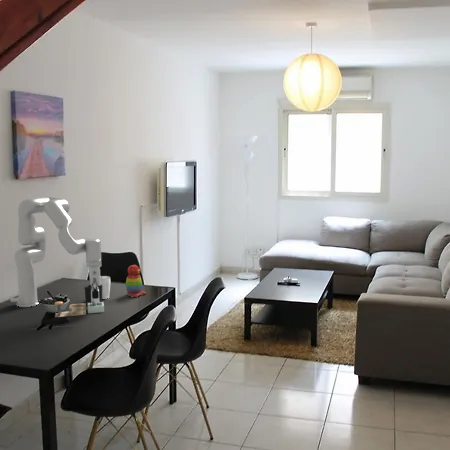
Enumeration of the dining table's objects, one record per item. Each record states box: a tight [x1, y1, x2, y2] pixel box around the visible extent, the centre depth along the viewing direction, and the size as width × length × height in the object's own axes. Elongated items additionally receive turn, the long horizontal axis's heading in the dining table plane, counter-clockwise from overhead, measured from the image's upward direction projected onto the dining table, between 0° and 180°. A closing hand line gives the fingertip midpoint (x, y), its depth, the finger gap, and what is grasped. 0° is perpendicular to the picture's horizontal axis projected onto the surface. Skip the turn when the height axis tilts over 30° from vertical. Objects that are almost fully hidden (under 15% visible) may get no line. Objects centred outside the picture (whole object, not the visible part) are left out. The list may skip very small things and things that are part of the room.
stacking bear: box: [125, 264, 147, 297], centre depth 321 cm, size 11×10×18 cm
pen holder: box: [83, 284, 103, 305], centre depth 303 cm, size 9×9×10 cm
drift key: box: [54, 300, 64, 312], centre depth 280 cm, size 4×4×4 cm
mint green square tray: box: [87, 301, 105, 314], centre depth 287 cm, size 8×8×4 cm
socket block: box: [54, 302, 87, 318], centre depth 282 cm, size 15×9×6 cm, turn 103°
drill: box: [91, 287, 100, 306], centre depth 286 cm, size 4×4×12 cm
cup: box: [100, 275, 112, 300], centre depth 315 cm, size 9×9×12 cm
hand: (95, 296), depth 286 cm, fingers open, 9 cm apart
